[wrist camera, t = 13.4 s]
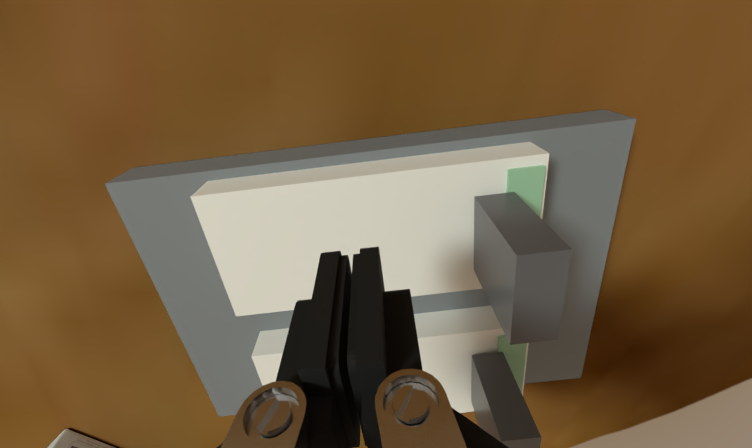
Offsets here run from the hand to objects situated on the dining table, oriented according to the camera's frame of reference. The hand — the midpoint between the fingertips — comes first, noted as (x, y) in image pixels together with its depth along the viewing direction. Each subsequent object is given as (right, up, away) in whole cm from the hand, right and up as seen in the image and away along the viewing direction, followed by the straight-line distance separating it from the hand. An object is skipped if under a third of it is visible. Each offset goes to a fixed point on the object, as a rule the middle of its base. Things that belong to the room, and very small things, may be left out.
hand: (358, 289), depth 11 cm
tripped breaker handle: (+6, +2, +6) cm, 9 cm away
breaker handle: (+7, -7, +11) cm, 15 cm away
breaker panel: (+1, -1, +13) cm, 13 cm away
